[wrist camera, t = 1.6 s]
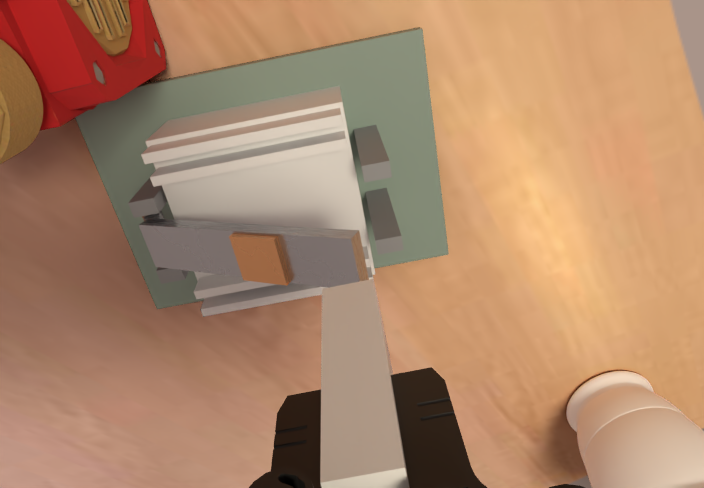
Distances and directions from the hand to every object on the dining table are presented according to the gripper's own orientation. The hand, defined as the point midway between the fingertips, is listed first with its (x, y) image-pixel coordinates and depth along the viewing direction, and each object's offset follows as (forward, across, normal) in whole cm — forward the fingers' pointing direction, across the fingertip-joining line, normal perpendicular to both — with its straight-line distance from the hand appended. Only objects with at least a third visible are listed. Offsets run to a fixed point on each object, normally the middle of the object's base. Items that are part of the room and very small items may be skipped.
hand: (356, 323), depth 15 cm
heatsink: (+25, -5, -3) cm, 26 cm away
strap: (+15, -6, -3) cm, 17 cm away
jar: (+26, +20, -32) cm, 46 cm away
